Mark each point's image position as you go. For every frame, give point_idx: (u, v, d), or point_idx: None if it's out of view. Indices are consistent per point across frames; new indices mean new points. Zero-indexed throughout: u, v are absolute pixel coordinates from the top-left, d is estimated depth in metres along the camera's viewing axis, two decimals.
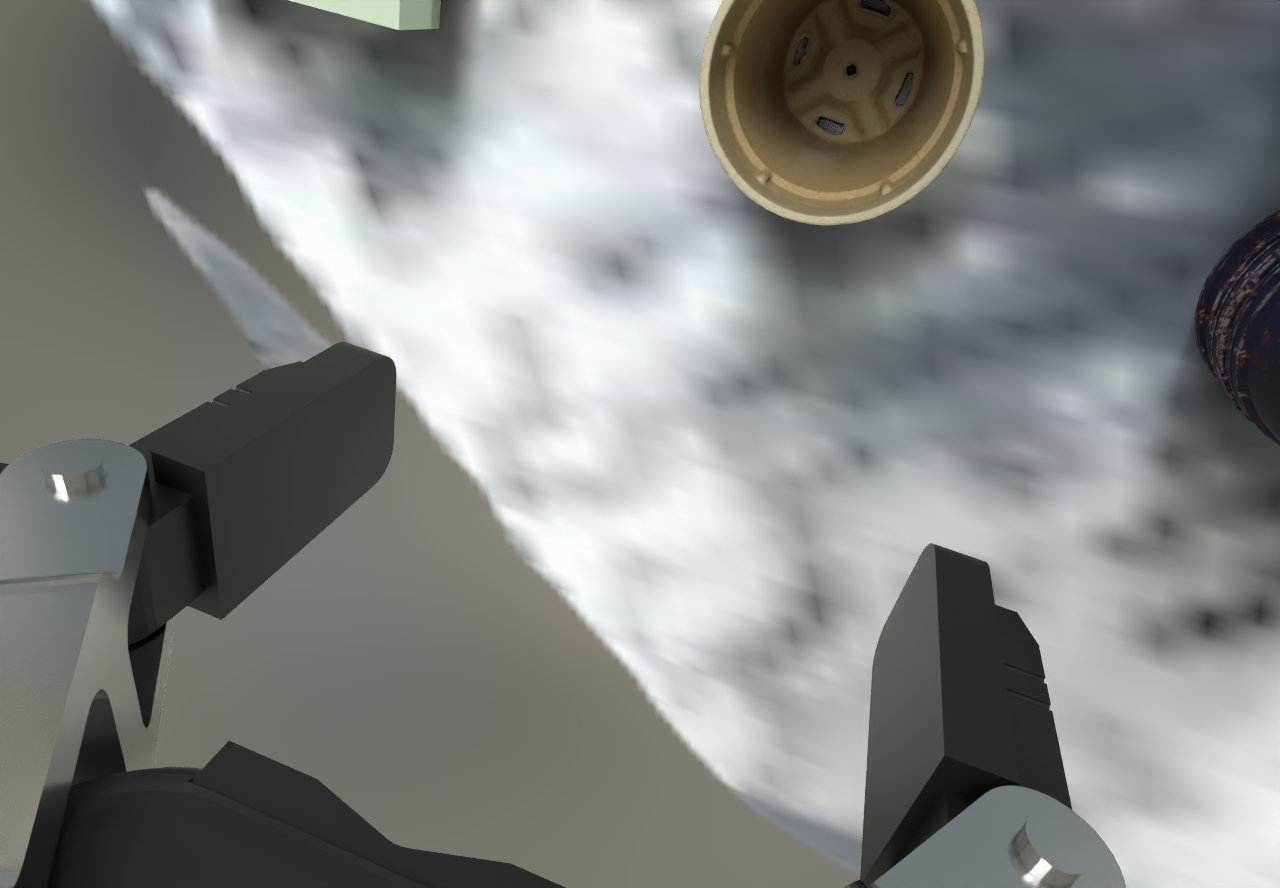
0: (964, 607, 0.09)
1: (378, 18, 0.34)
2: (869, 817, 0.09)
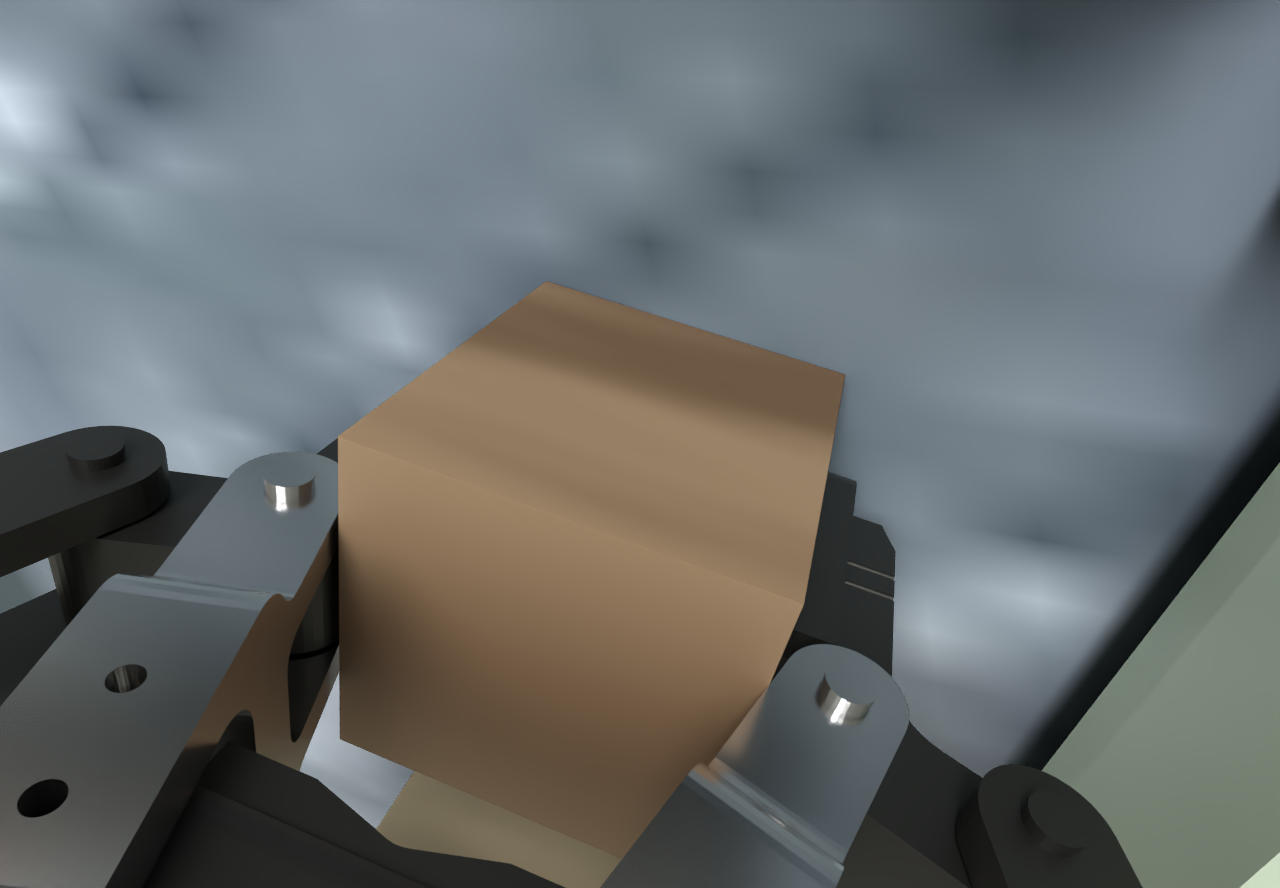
0: (822, 514, 0.10)
1: None
2: None
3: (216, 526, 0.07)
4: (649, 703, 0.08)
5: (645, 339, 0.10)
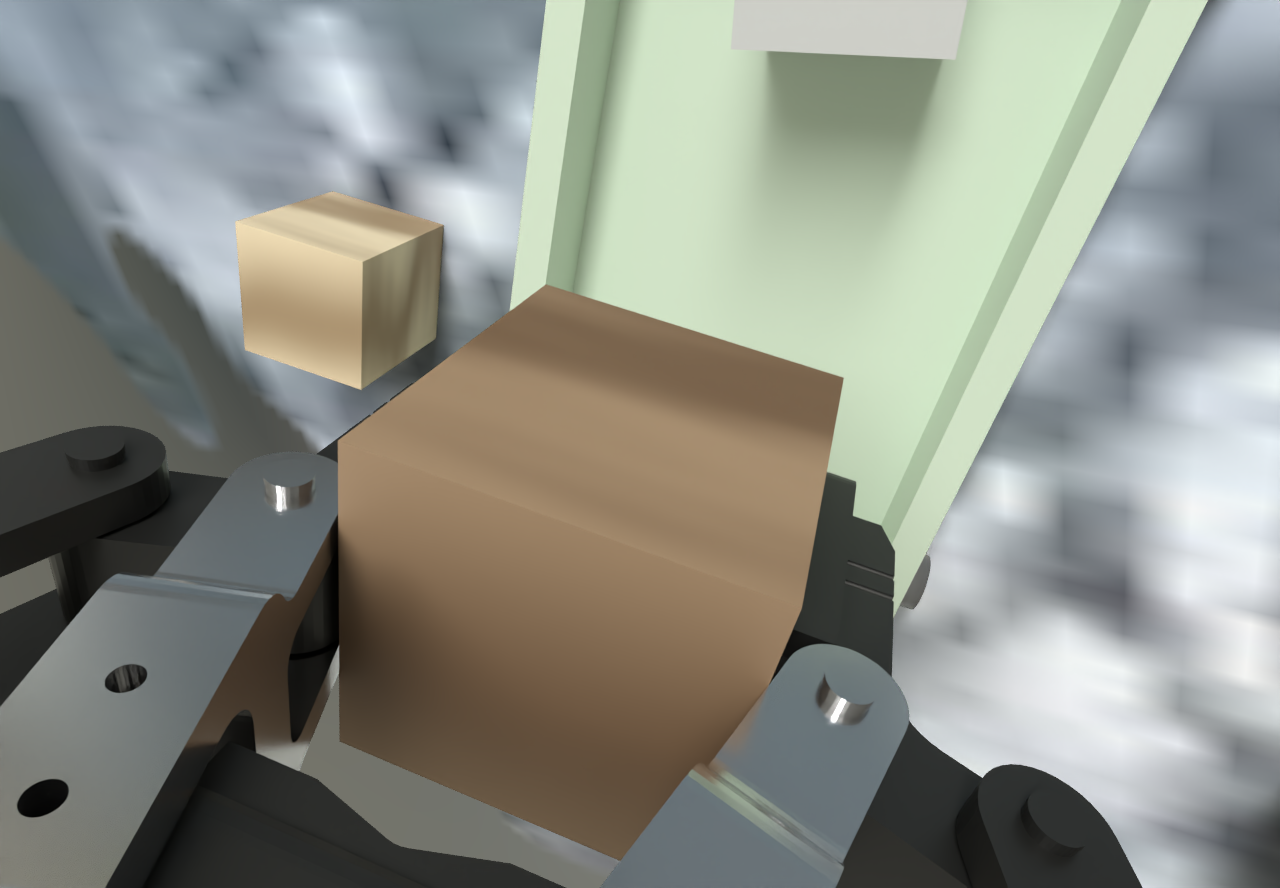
0: (823, 514, 0.10)
1: None
2: None
3: (216, 526, 0.07)
4: (647, 707, 0.08)
5: (644, 342, 0.11)
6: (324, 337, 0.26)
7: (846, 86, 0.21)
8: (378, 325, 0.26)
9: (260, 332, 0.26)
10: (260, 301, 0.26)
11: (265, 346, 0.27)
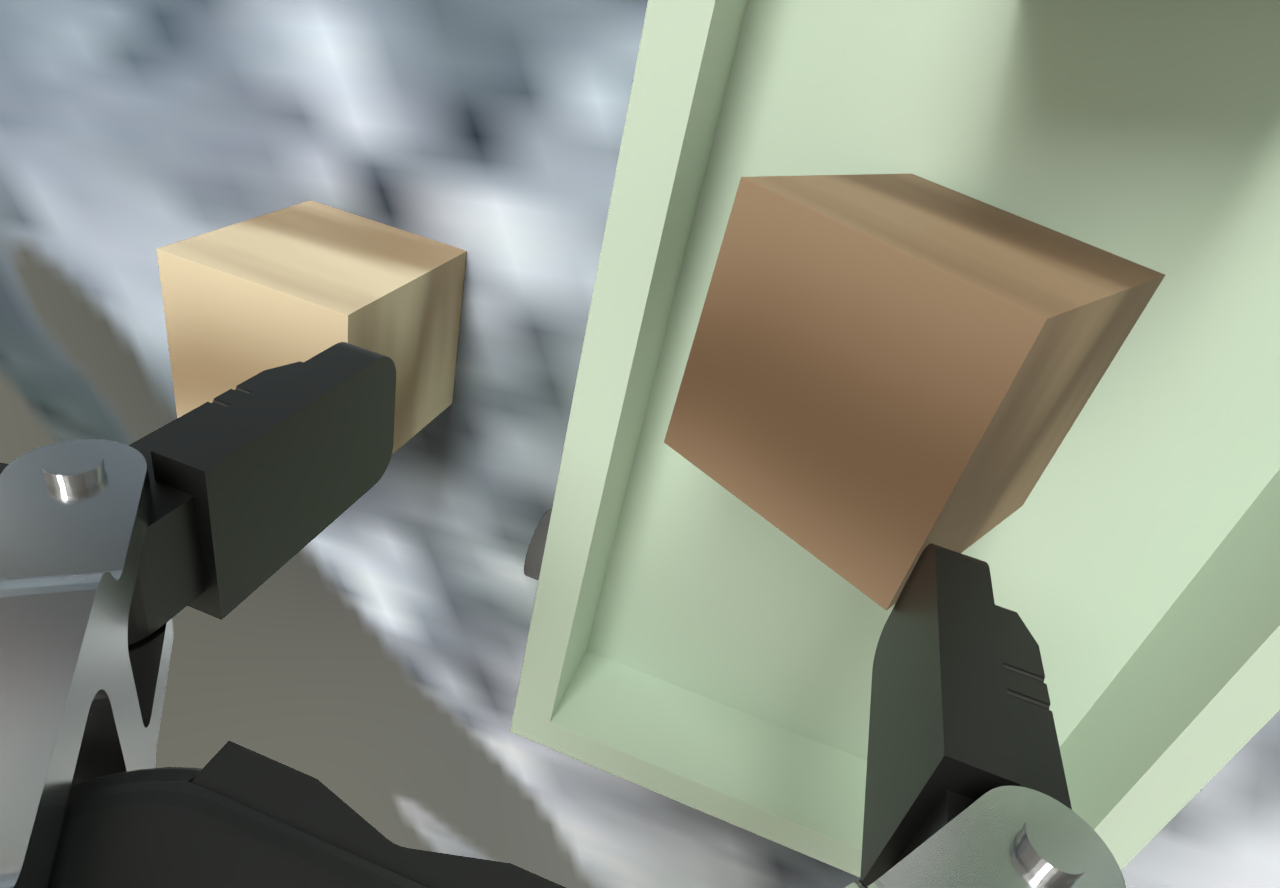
0: (964, 607, 0.09)
1: None
2: (868, 817, 0.09)
3: (2, 528, 0.07)
4: (901, 415, 0.10)
5: (982, 212, 0.13)
6: None
7: (1155, 48, 0.12)
8: None
9: None
10: (197, 365, 0.17)
11: None
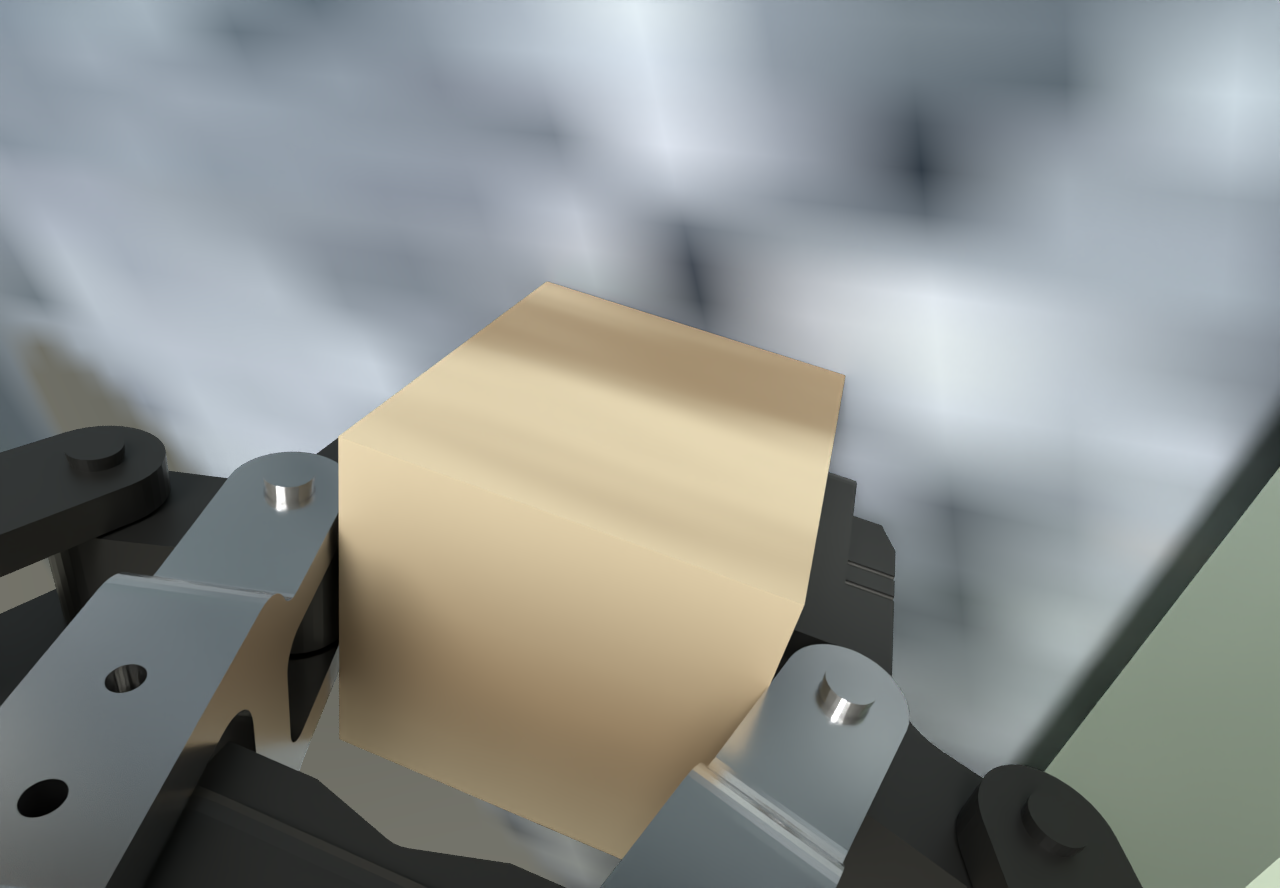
0: (823, 515, 0.10)
1: None
2: None
3: (216, 526, 0.07)
4: None
5: None
6: (592, 762, 0.08)
7: None
8: None
9: (389, 713, 0.09)
10: (397, 648, 0.09)
11: (400, 743, 0.09)
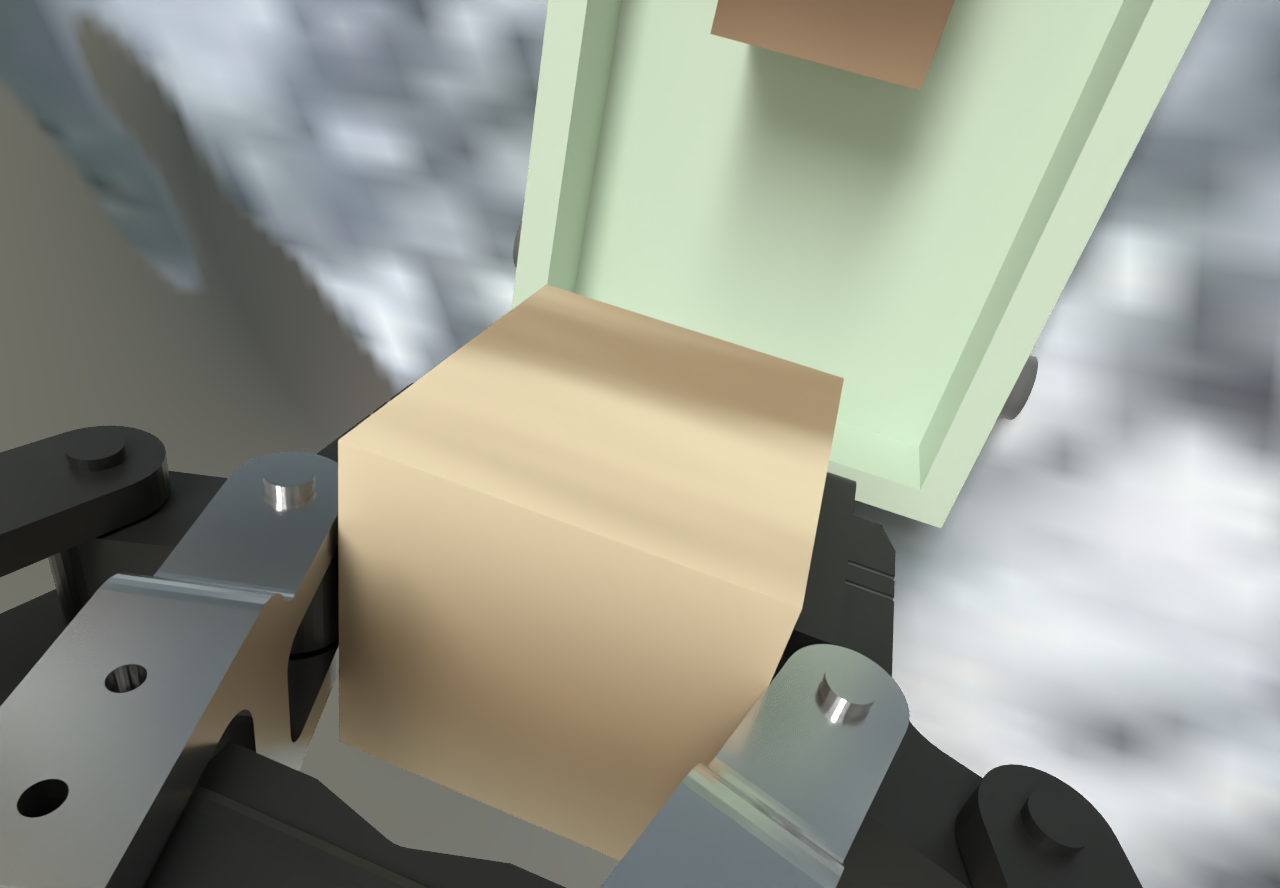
0: (823, 514, 0.10)
1: (910, 510, 0.23)
2: None
3: (215, 526, 0.07)
4: None
5: None
6: (591, 764, 0.08)
7: None
8: None
9: (388, 715, 0.09)
10: (397, 651, 0.09)
11: (399, 745, 0.09)
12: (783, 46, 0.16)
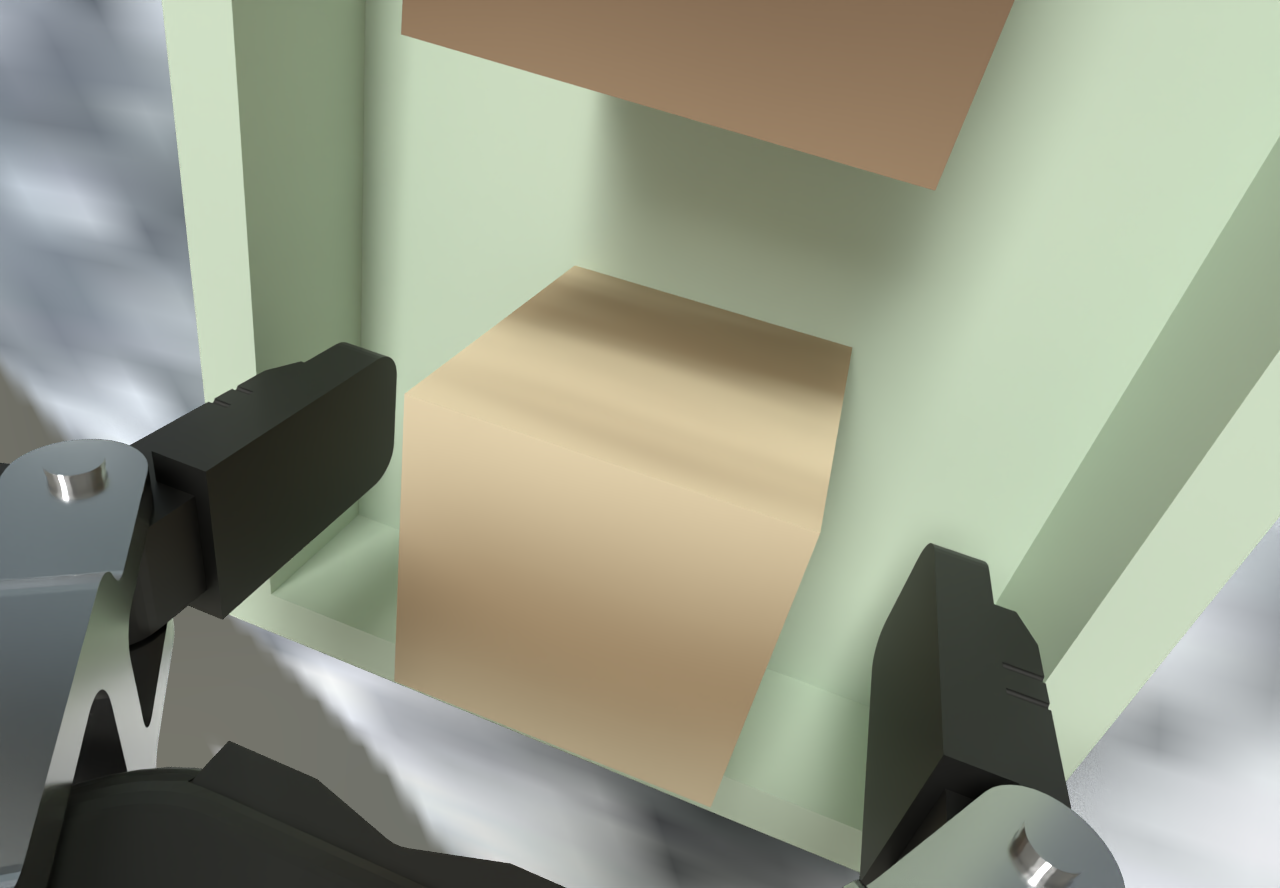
0: (962, 607, 0.09)
1: None
2: (867, 814, 0.09)
3: (3, 528, 0.07)
4: None
5: None
6: (629, 691, 0.09)
7: None
8: None
9: (442, 653, 0.10)
10: (451, 590, 0.09)
11: (451, 682, 0.10)
12: (577, 68, 0.06)
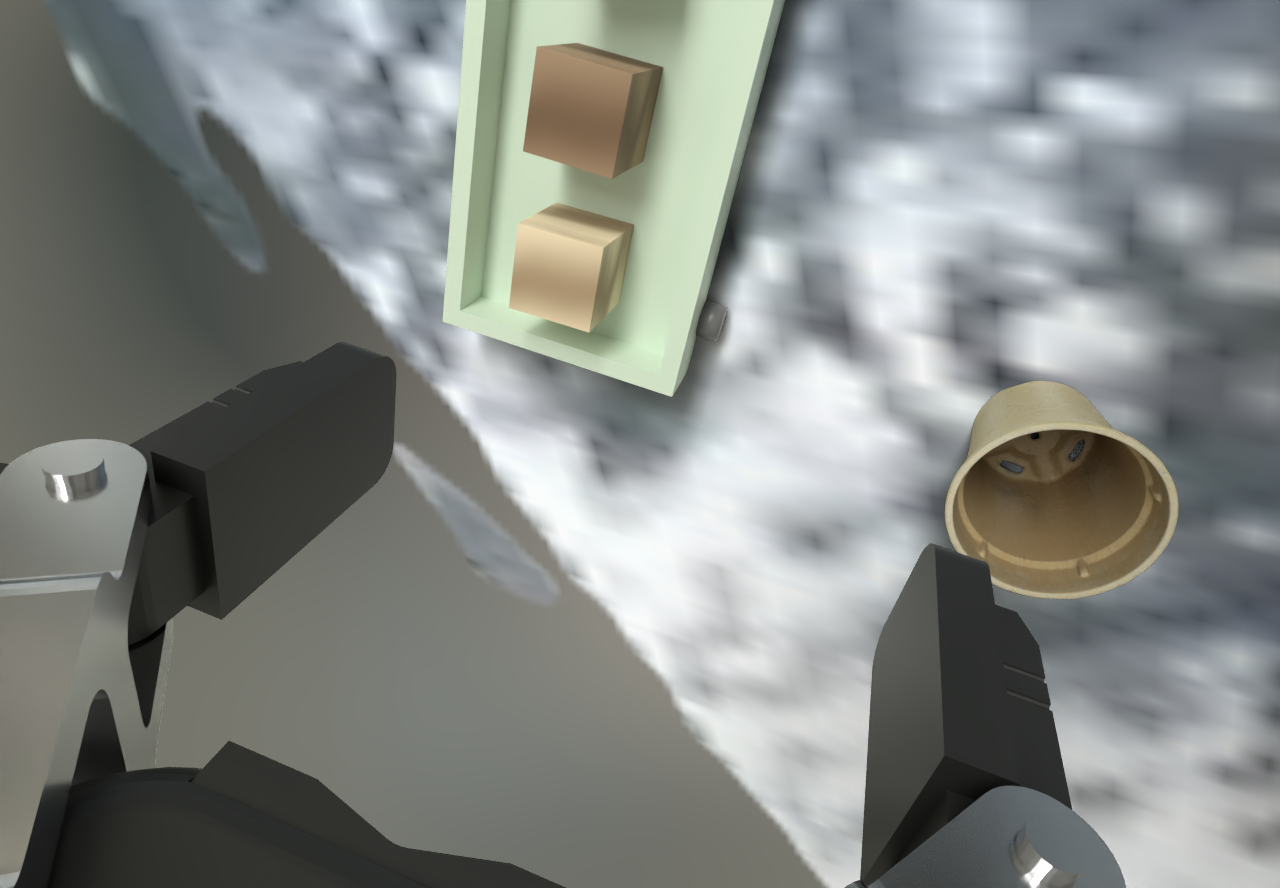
0: (964, 607, 0.09)
1: (655, 387, 0.43)
2: (868, 817, 0.09)
3: (2, 527, 0.07)
4: (602, 113, 0.35)
5: (605, 53, 0.37)
6: (568, 298, 0.39)
7: None
8: (601, 290, 0.40)
9: (522, 295, 0.40)
10: (525, 275, 0.40)
11: (524, 305, 0.40)
12: (553, 158, 0.36)
